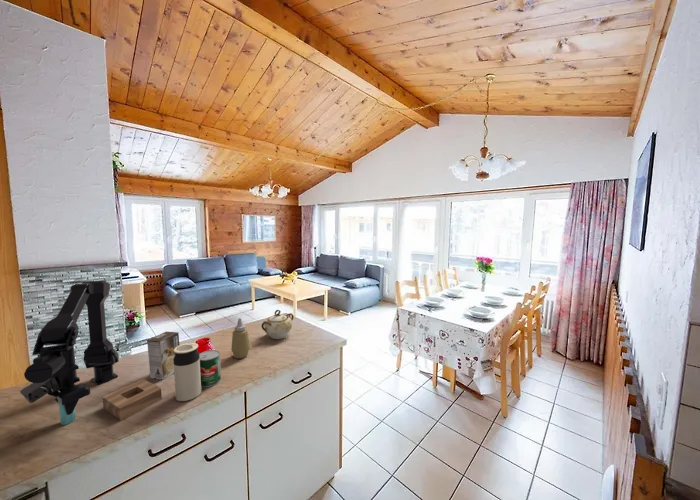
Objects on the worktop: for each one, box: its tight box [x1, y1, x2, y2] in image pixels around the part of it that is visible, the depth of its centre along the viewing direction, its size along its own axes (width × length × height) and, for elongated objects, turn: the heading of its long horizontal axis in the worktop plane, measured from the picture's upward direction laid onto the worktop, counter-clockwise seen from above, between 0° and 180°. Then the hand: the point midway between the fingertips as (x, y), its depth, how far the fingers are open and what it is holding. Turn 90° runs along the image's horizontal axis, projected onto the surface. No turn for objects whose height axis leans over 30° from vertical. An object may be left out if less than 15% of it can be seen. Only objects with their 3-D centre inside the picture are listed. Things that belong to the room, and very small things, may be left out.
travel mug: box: [173, 342, 202, 402], centre depth 98 cm, size 8×8×18 cm
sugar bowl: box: [261, 309, 295, 340], centre depth 149 cm, size 20×15×15 cm
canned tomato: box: [199, 349, 222, 388], centre depth 107 cm, size 8×8×11 cm
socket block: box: [101, 378, 163, 421], centre depth 94 cm, size 12×12×4 cm
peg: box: [58, 403, 76, 426], centre depth 85 cm, size 3×3×9 cm
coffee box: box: [146, 331, 180, 381], centre depth 112 cm, size 9×6×16 cm
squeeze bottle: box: [230, 317, 251, 359], centre depth 127 cm, size 8×8×18 cm
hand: (67, 412), depth 86 cm, fingers closed on peg, 3 cm apart
